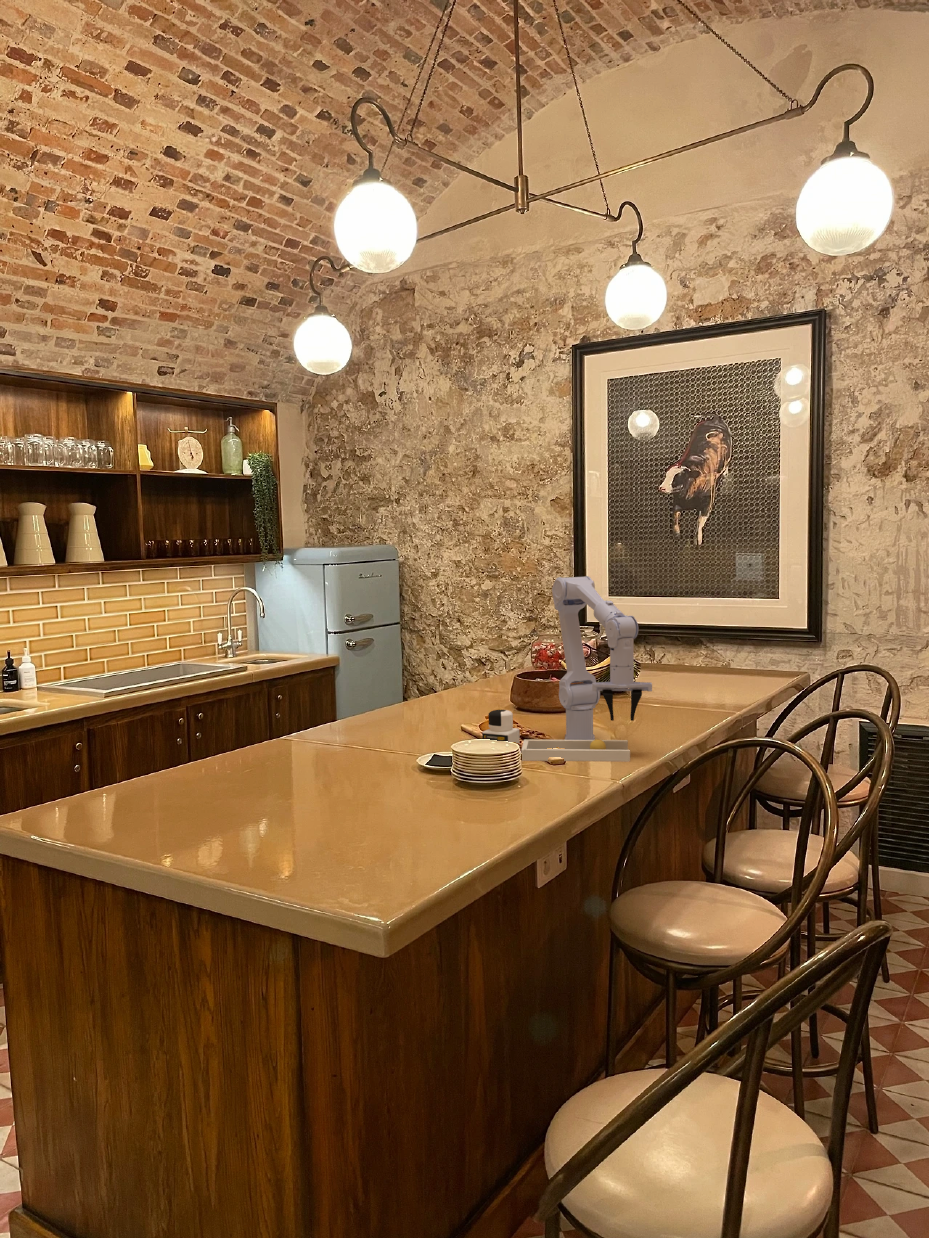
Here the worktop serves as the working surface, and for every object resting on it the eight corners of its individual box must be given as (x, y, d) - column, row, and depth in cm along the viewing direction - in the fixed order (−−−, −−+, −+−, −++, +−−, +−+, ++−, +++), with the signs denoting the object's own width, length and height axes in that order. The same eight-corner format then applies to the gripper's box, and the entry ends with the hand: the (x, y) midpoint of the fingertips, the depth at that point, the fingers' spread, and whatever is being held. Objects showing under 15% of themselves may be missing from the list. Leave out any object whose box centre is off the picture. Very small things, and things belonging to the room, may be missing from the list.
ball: (589, 753, 239) (589, 737, 238) (605, 753, 238) (605, 737, 238) (589, 757, 235) (589, 741, 234) (606, 757, 234) (606, 741, 234)
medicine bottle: (482, 759, 236) (481, 712, 235) (494, 753, 242) (493, 707, 241) (508, 762, 233) (507, 714, 232) (520, 756, 239) (519, 709, 238)
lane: (524, 750, 245) (524, 739, 244) (627, 751, 241) (627, 740, 241) (521, 762, 233) (521, 750, 233) (630, 763, 230) (630, 750, 229)
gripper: (592, 667, 231) (592, 722, 232) (653, 667, 229) (653, 723, 230) (591, 663, 238) (592, 717, 239) (650, 663, 236) (650, 717, 237)
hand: (622, 719), depth 235 cm, fingers open, 4 cm apart
